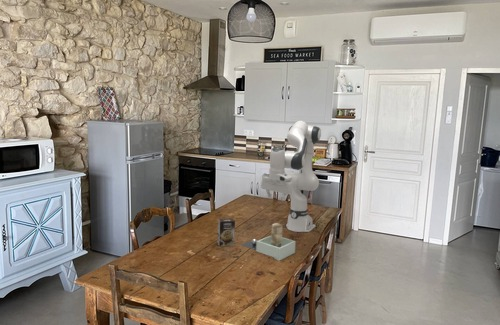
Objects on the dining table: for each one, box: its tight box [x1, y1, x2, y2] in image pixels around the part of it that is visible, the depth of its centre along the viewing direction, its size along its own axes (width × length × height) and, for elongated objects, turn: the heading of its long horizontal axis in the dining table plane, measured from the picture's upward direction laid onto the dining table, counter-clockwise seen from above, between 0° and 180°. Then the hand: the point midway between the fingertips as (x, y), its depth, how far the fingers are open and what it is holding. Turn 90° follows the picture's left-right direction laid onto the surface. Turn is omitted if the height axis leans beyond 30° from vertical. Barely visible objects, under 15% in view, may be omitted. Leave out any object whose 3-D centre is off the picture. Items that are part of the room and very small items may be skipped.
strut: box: [270, 222, 284, 248], centre depth 214 cm, size 4×4×16 cm
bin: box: [255, 235, 296, 261], centre depth 215 cm, size 16×16×7 cm
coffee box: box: [217, 217, 236, 247], centre depth 223 cm, size 9×6×16 cm
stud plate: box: [240, 238, 258, 251], centre depth 224 cm, size 12×12×5 cm
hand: (276, 198), depth 217 cm, fingers open, 8 cm apart
